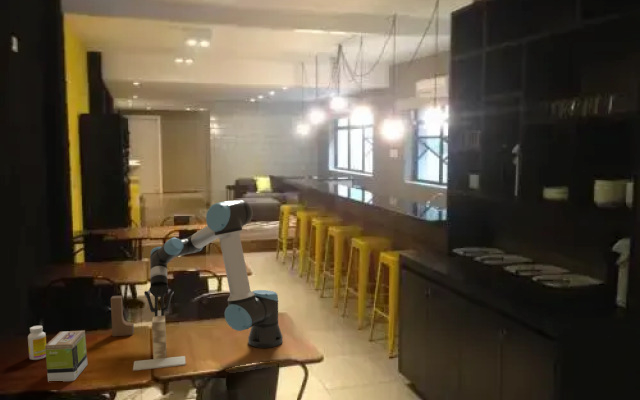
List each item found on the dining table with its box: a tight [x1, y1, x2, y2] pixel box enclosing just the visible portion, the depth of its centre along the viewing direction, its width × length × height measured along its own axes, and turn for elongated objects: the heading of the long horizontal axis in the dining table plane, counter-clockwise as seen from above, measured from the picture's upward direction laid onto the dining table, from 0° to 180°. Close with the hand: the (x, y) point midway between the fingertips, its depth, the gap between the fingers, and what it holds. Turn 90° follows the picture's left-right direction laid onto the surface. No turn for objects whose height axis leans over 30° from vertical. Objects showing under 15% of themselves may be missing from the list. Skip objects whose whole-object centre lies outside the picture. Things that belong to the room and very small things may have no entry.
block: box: [151, 315, 167, 359], centre depth 227 cm, size 5×8×16 cm, turn 15°
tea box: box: [45, 329, 89, 383], centre depth 211 cm, size 15×10×15 cm, turn 5°
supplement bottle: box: [27, 325, 47, 361], centre depth 227 cm, size 7×7×13 cm
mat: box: [132, 355, 187, 371], centre depth 220 cm, size 20×8×1 cm, turn 105°
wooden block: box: [110, 295, 135, 337], centre depth 253 cm, size 9×4×18 cm, turn 102°
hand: (159, 325), depth 237 cm, fingers closed
